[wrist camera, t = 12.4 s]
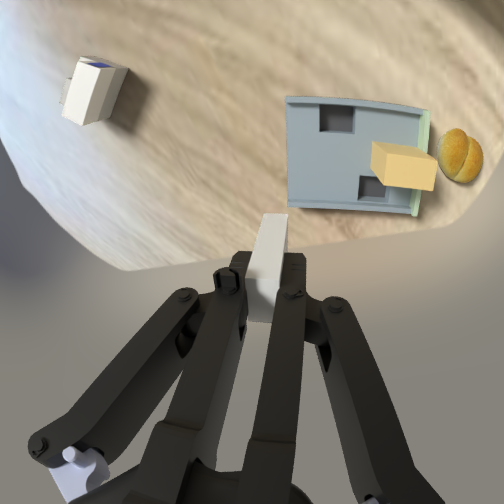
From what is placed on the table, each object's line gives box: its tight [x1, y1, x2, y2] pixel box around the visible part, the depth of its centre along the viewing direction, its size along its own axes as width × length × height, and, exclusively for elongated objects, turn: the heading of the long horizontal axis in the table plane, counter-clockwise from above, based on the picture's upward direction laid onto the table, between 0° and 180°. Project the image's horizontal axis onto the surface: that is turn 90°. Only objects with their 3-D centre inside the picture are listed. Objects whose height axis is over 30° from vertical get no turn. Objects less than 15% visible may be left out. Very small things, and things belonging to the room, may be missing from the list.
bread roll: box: [437, 128, 483, 183], centre depth 33 cm, size 8×9×4 cm
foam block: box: [59, 56, 129, 126], centre depth 34 cm, size 10×10×8 cm
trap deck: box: [285, 96, 430, 216], centre depth 37 cm, size 20×16×4 cm
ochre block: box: [370, 141, 438, 191], centre depth 32 cm, size 7×4×8 cm, turn 92°
